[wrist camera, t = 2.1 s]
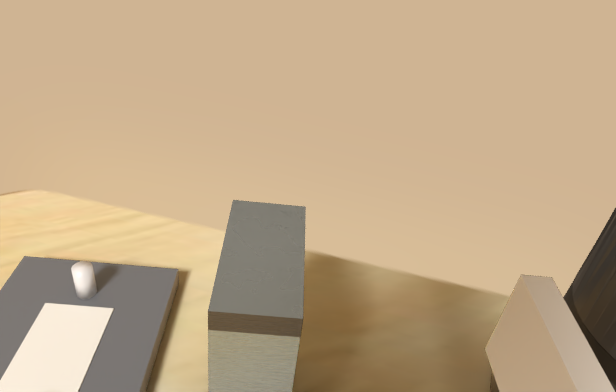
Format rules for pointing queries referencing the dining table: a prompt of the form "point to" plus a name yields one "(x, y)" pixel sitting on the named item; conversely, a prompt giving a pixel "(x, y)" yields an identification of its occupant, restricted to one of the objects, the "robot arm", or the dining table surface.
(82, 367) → the slotted base plate
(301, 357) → the dining table surface
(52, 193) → the dining table surface
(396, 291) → the dining table surface
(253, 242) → the block
